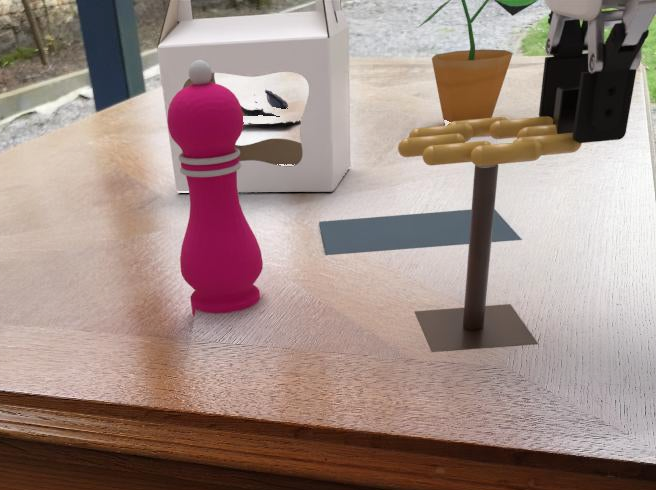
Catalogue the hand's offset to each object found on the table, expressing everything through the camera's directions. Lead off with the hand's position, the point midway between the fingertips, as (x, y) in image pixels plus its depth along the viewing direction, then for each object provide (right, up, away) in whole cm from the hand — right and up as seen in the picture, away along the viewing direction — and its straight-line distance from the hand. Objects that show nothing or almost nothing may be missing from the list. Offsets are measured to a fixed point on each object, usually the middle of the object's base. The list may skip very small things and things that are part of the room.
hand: (579, 126), depth 53 cm
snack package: (-21, +44, +88) cm, 101 cm away
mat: (-5, +2, +29) cm, 30 cm away
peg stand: (-5, -13, +9) cm, 16 cm away
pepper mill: (-25, -8, +18) cm, 32 cm away
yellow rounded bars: (-6, -1, +1) cm, 6 cm away
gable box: (-22, +20, +56) cm, 63 cm away
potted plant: (+12, +38, +76) cm, 86 cm away
